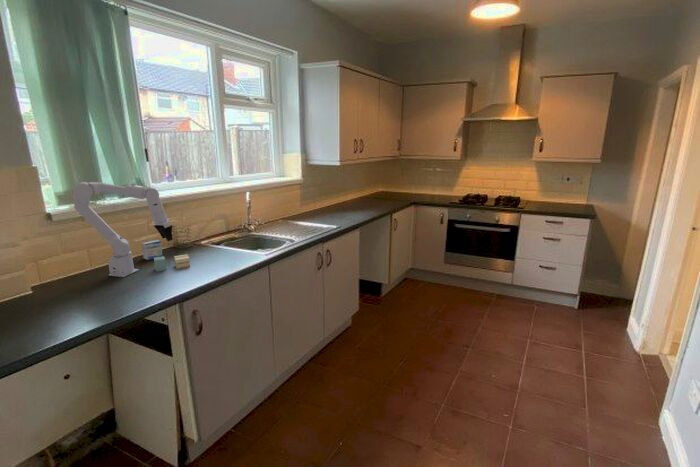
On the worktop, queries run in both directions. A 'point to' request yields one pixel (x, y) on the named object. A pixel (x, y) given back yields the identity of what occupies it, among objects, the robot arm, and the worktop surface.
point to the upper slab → (181, 259)
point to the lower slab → (182, 265)
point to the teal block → (160, 263)
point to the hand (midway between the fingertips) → (167, 239)
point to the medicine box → (152, 249)
